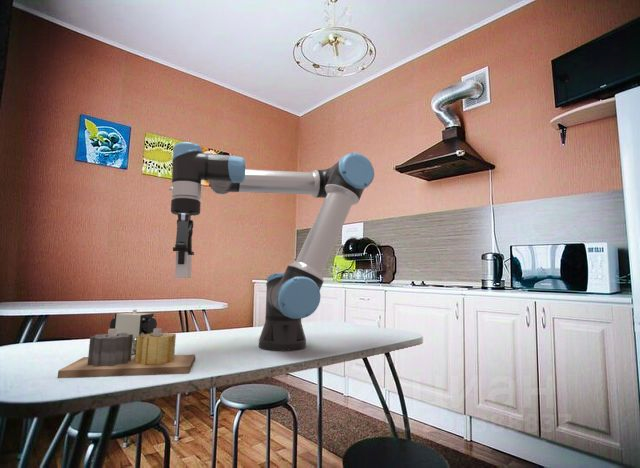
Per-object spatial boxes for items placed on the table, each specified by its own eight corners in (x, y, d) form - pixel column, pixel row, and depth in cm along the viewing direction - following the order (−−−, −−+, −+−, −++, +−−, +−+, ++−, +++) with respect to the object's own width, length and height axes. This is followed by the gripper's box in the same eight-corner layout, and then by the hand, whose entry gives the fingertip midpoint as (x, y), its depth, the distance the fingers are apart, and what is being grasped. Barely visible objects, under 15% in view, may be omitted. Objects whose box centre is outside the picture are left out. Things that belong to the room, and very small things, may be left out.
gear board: (195, 360, 93) (197, 325, 94) (189, 373, 80) (191, 332, 81) (83, 363, 87) (87, 325, 88) (57, 378, 74) (62, 333, 75)
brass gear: (140, 357, 88) (142, 332, 88) (176, 356, 89) (177, 332, 90) (130, 365, 80) (132, 338, 80) (170, 364, 81) (172, 337, 82)
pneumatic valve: (143, 356, 96) (147, 311, 97) (106, 353, 98) (110, 309, 100) (156, 352, 101) (160, 309, 103) (121, 350, 103) (125, 308, 105)
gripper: (176, 207, 108) (173, 277, 105) (164, 188, 84) (161, 278, 82) (202, 208, 110) (200, 277, 107) (198, 189, 86) (195, 277, 84)
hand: (183, 278), depth 95 cm, fingers open, 13 cm apart
